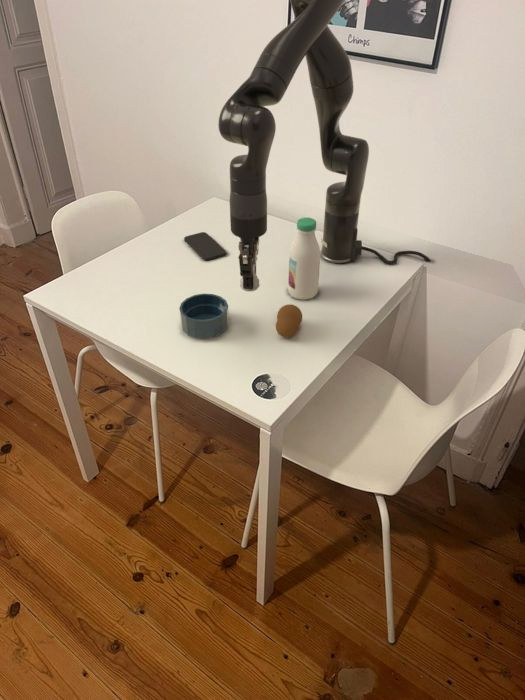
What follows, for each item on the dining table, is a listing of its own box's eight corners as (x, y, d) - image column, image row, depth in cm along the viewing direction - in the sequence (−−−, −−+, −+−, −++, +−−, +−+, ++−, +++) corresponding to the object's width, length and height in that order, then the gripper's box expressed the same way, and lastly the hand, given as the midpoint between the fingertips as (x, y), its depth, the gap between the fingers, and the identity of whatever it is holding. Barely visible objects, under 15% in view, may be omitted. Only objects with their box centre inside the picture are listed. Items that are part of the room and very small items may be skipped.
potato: (302, 320, 129) (303, 300, 125) (300, 343, 122) (301, 322, 118) (277, 319, 129) (278, 298, 125) (274, 341, 122) (274, 320, 118)
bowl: (232, 313, 131) (231, 294, 127) (224, 341, 122) (223, 322, 119) (187, 310, 132) (185, 292, 128) (177, 338, 123) (174, 319, 120)
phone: (204, 259, 150) (182, 237, 160) (204, 261, 150) (182, 239, 160) (227, 252, 153) (204, 231, 163) (227, 254, 153) (205, 233, 163)
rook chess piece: (257, 293, 117) (257, 261, 112) (237, 291, 117) (236, 259, 112) (261, 282, 120) (261, 251, 115) (242, 280, 121) (241, 249, 116)
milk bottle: (321, 287, 140) (326, 216, 127) (313, 302, 134) (318, 230, 122) (292, 282, 142) (295, 212, 129) (284, 297, 136) (286, 225, 124)
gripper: (263, 226, 101) (263, 301, 112) (270, 196, 112) (269, 266, 123) (224, 224, 102) (228, 299, 113) (235, 194, 113) (237, 265, 124)
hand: (249, 281), depth 118 cm, fingers closed on rook chess piece, 4 cm apart
